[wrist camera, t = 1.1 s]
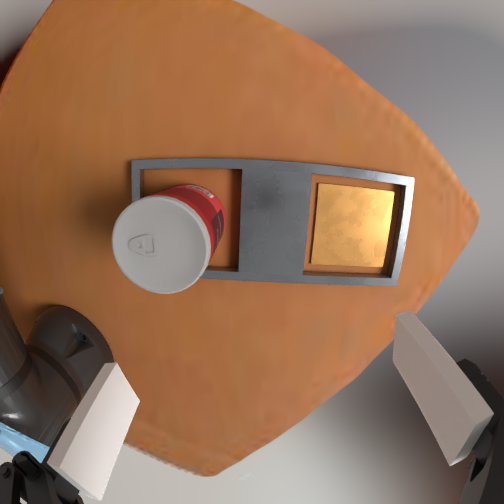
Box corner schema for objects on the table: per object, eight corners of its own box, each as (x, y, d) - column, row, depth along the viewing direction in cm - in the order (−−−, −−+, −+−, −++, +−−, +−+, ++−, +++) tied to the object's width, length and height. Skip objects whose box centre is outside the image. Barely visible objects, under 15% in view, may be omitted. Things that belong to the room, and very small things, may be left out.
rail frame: (140, 269, 33) (136, 273, 31) (136, 160, 29) (131, 160, 27) (392, 282, 32) (396, 285, 31) (409, 177, 28) (414, 178, 27)
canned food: (148, 195, 30) (98, 214, 19) (216, 174, 29) (191, 181, 19) (169, 258, 32) (131, 302, 22) (235, 242, 31) (222, 283, 21)
